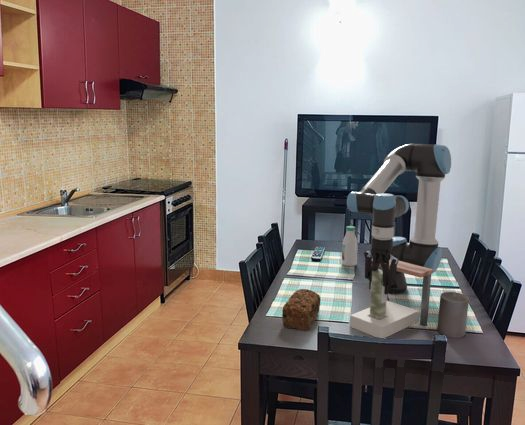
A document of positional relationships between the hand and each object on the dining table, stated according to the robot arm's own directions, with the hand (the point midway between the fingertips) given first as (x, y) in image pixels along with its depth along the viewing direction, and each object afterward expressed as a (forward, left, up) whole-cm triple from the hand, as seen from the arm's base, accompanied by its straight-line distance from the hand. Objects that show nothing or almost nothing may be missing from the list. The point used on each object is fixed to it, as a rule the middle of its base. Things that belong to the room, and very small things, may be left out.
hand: (378, 300), depth 186 cm
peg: (0, 0, -5) cm, 5 cm away
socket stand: (-5, 0, -11) cm, 12 cm away
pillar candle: (-17, +20, -11) cm, 28 cm away
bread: (+16, -23, -11) cm, 30 cm away
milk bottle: (-55, -57, -11) cm, 80 cm away
